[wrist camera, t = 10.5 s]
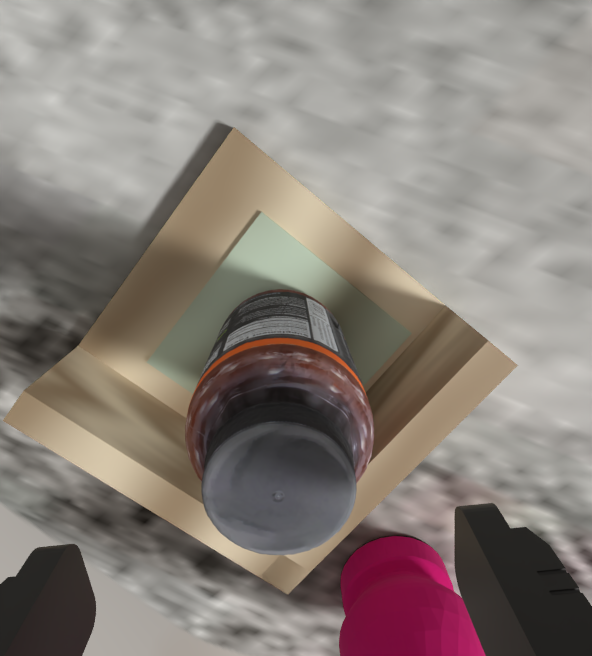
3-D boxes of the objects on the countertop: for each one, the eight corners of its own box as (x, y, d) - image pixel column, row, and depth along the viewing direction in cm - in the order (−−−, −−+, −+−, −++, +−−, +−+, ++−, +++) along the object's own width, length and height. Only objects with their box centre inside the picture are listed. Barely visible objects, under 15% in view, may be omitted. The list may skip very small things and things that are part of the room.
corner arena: (67, 364, 24) (2, 420, 18) (235, 128, 21) (217, 112, 15) (287, 508, 27) (287, 594, 21) (463, 320, 24) (517, 365, 18)
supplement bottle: (337, 406, 24) (379, 596, 13) (217, 399, 24) (159, 587, 13) (350, 289, 22) (413, 399, 11) (221, 280, 22) (157, 383, 11)
